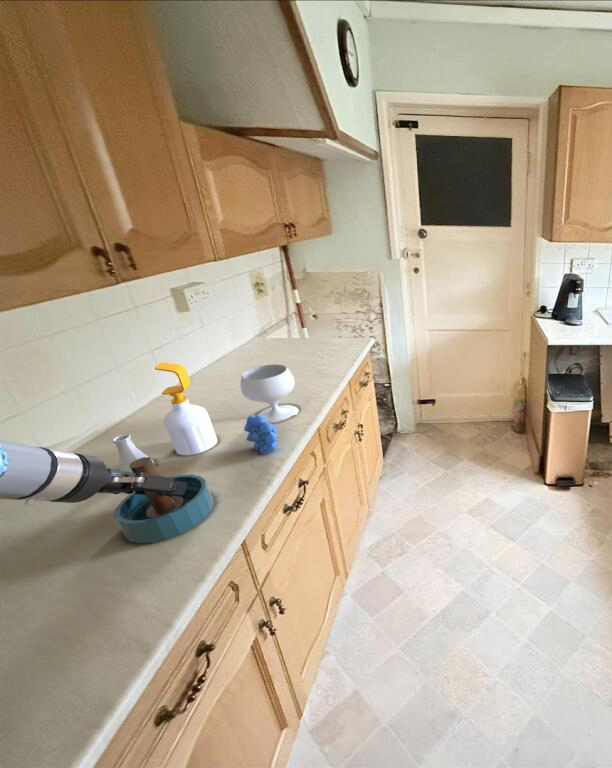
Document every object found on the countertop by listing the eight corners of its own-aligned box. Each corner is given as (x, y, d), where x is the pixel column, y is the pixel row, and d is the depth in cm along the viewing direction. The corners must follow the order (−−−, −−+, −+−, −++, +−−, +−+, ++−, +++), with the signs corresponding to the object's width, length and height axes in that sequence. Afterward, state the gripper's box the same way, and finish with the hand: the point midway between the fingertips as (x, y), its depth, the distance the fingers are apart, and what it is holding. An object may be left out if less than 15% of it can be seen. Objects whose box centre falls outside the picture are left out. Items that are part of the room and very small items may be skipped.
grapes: (296, 451, 106) (285, 412, 101) (272, 464, 101) (259, 424, 96) (268, 440, 111) (257, 402, 106) (244, 452, 106) (231, 413, 101)
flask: (125, 466, 100) (108, 433, 96) (161, 460, 102) (146, 427, 98) (112, 484, 94) (94, 449, 90) (150, 476, 96) (134, 442, 92)
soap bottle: (184, 441, 110) (151, 359, 100) (222, 436, 113) (194, 356, 102) (171, 460, 102) (133, 373, 92) (211, 454, 105) (179, 368, 95)
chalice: (244, 430, 116) (229, 384, 109) (258, 408, 128) (245, 365, 122) (297, 424, 119) (285, 378, 113) (305, 403, 131) (295, 361, 125)
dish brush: (144, 531, 80) (108, 474, 72) (166, 507, 85) (135, 452, 78) (177, 530, 80) (145, 472, 73) (197, 506, 86) (169, 451, 78)
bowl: (106, 547, 77) (92, 524, 74) (162, 496, 90) (152, 475, 87) (184, 545, 78) (174, 522, 75) (228, 494, 91) (220, 473, 88)
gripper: (-7, 503, 60) (128, 509, 82) (108, 499, 61) (210, 506, 83) (12, 454, 62) (138, 472, 84) (122, 450, 63) (218, 470, 85)
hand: (174, 489), depth 83 cm, fingers closed on dish brush, 3 cm apart
